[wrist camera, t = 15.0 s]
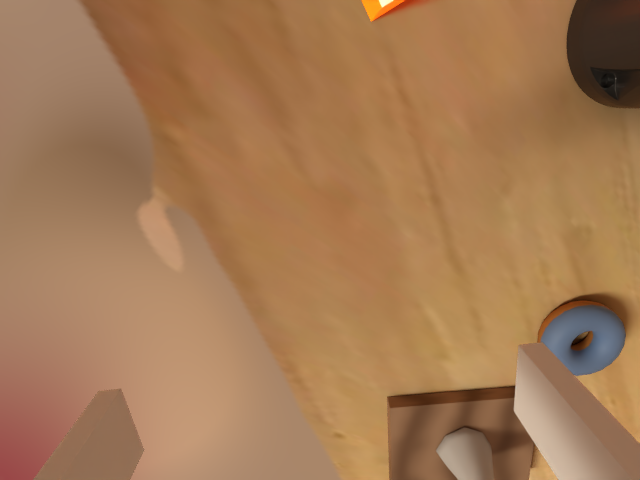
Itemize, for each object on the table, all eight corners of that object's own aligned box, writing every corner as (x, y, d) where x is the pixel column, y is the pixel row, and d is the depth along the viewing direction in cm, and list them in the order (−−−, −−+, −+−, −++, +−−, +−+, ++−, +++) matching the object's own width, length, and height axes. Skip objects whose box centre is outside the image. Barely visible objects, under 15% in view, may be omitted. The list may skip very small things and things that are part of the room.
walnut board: (532, 385, 52) (541, 395, 50) (521, 469, 57) (528, 482, 55) (387, 396, 52) (389, 408, 50) (389, 480, 57) (392, 493, 56)
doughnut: (523, 362, 50) (547, 384, 46) (541, 293, 47) (569, 310, 43) (589, 361, 52) (618, 383, 47) (611, 294, 49) (644, 311, 44)
